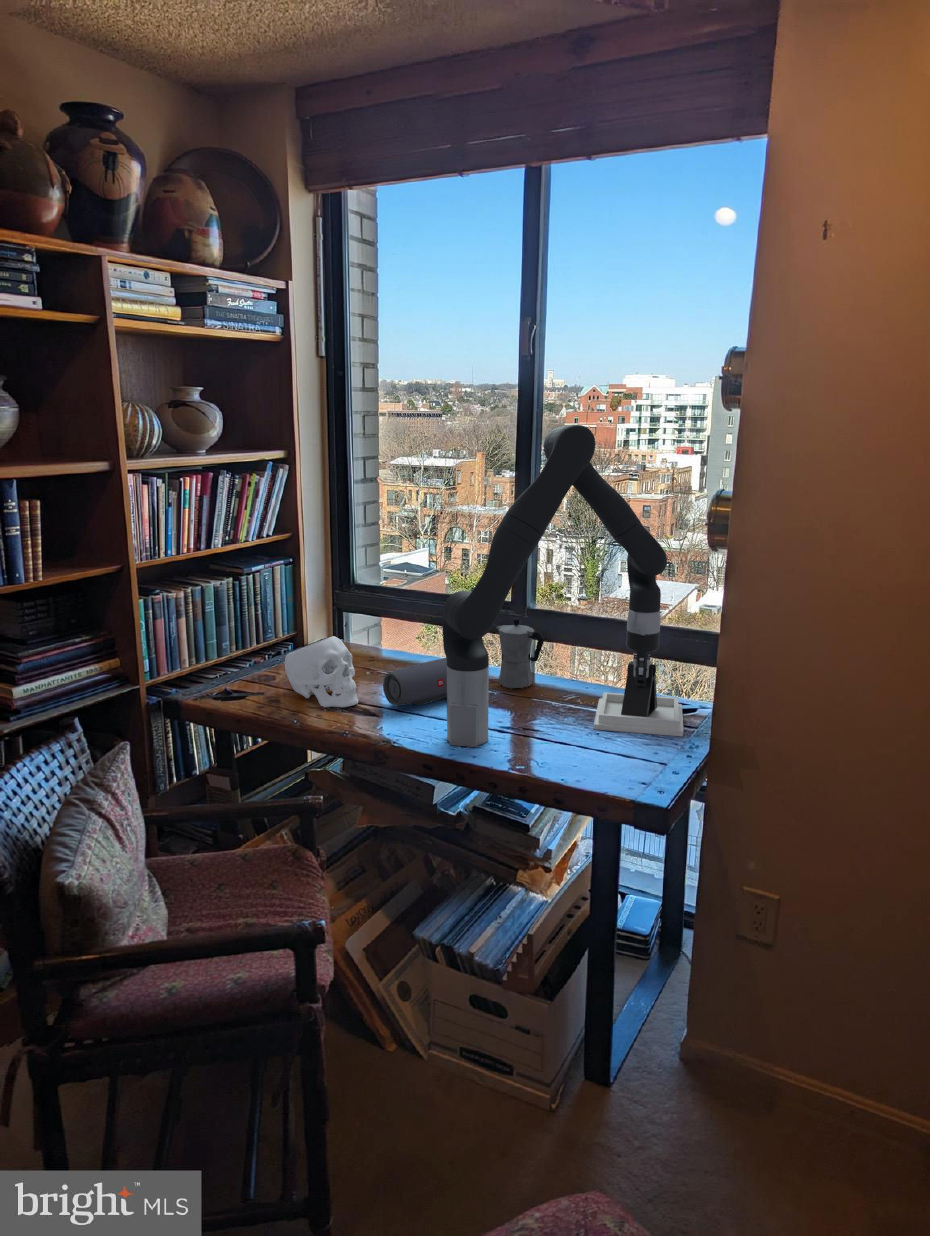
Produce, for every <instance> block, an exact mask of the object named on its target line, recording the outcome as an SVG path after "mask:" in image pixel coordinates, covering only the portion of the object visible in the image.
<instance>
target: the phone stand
mask: <svg viewBox="0 0 930 1236" xmlns="http://www.w3.org/2000/svg"><path fill="white" fill-rule="evenodd" d="M636 666H637V663H636ZM646 667H647V664H646ZM626 670H627V671H626V672H627V673H626V680H625V681H626V682H625V687H624V693H623V694H624V699H623V705H622V711H621V715H626V716H639V717H649V716H650V715H651V714H652V713H653V712H654V711H655V710H656V709H657V696H658V695H657V694H658V693H657V680H656V678H657V677H656V675H657V674H656V673H657V666H656V664H653V663H650V666H649V674H648V677H647V678H646V687H644V686H643V689H639V691H638V692H637V687H636V686H635V685H634V683H635V677H634V675H633V674H634V665H633V660H630V661H629V662H628V663H627V669H626ZM637 681H643V680H637ZM643 682H644V681H643Z"/></svg>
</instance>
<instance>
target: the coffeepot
mask: <svg viewBox="0 0 930 1236" xmlns="http://www.w3.org/2000/svg"><path fill="white" fill-rule="evenodd" d="M495 628H496V629H497V630H498V637H499V643H500V650H501V654H502V655H503V656H502V657H503V659H502V662H501V667H500V670H499V678H498V684H499V685H500V686H501V685H502V686H501V687H503V688H508V689H512V688H514V689H515V688H521V689H524V688H523V687H526V688H528V687H527V686H529V687H531V686H530V684H531V685H533V676H532V668H531V662H530V661H532V662H537V661H538V660H539V657H540V654H541V651H542V648H543V646H544V642H545V638H544V636H543V635H542V633H541V632H540V631H539V630H535V628H532V627H530V626H528V625H523V624H522V625H521V624H520V618H518V617H516V618H513V624H511V625H510V624H509V625H508V624H507V625H498V626H496V627H495ZM533 639H537V642H536V647H535V650H534V653H533V654H534V655H533V657H529V655H530V653H531V649H532V643H533ZM514 689H513V690H514Z"/></svg>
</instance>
